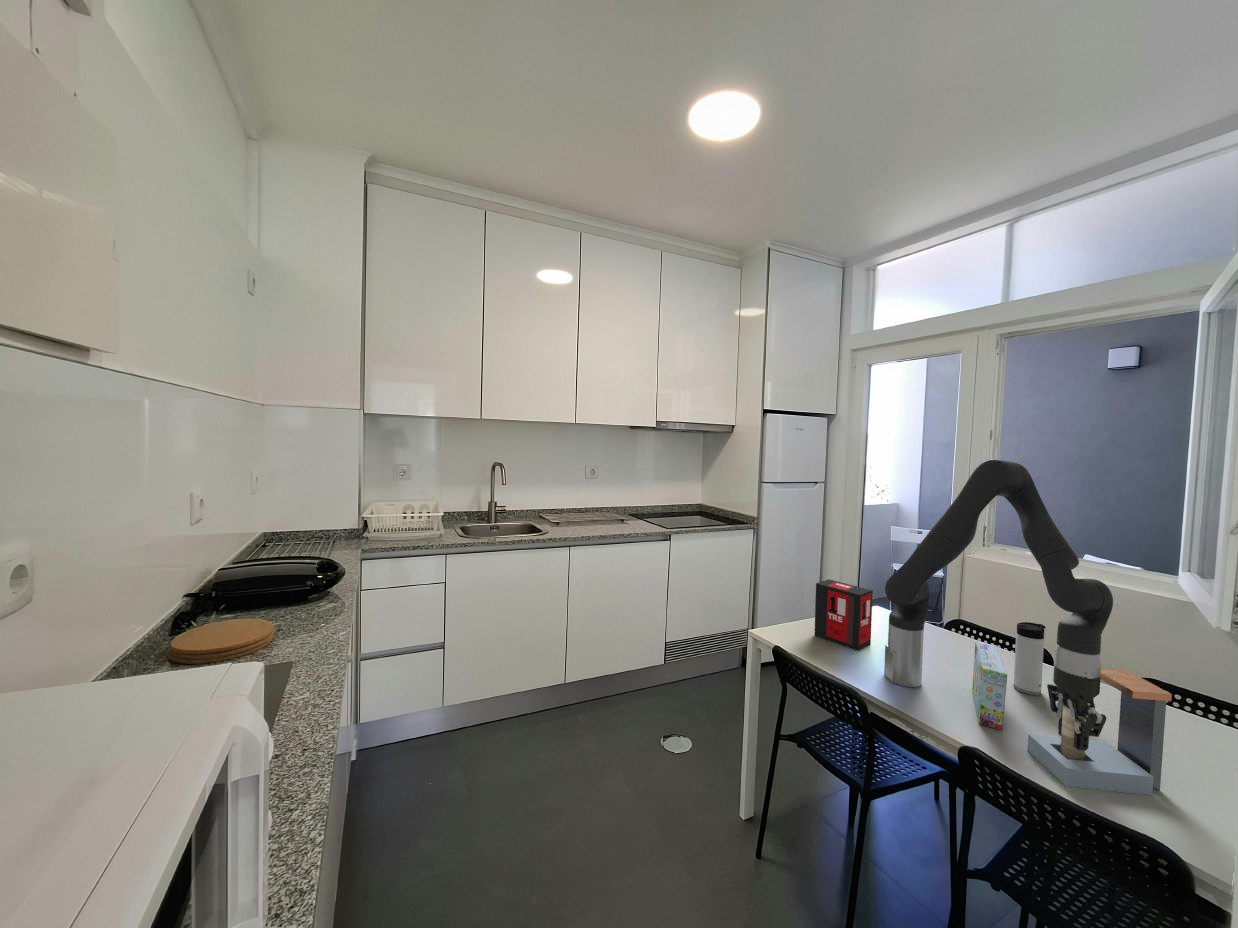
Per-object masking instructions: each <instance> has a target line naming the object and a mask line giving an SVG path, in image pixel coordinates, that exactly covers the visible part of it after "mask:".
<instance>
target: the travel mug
mask: <svg viewBox="0 0 1238 928" xmlns="http://www.w3.org/2000/svg"><path fill="white" fill-rule="evenodd" d="M1045 629H1046V626H1045V625H1044V624H1042V623H1036V622H1035V623H1034V622H1028V621H1026V622H1025V621H1024V622H1018V623H1016V631H1015V632H1016V633H1015V648H1014V649H1015V650H1014V651H1015V653H1014V669H1013V671H1014V672H1013V685H1012V687H1013V688H1014V689H1015V690H1016V691H1018V692H1020V693H1023V694H1025V695H1030V696H1039V695H1042V682H1043V667H1044V650H1045V649H1044V647H1045Z"/></svg>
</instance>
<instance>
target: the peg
mask: <svg viewBox="0 0 1238 928" xmlns="http://www.w3.org/2000/svg"><path fill="white" fill-rule="evenodd" d="M1077 717H1078V718H1083V719H1085V718H1086V716H1085V717H1084V716H1077ZM1084 724H1085V723H1081V728H1083V727H1084ZM1074 734H1075V724H1074V721H1073V720H1072V719H1071V714H1070V709H1069V708H1068V707H1066V706H1065V705H1063V713H1062V731H1061V736H1060V737H1061V749H1060V753H1061V754H1062V755H1063V756H1064V757H1065V758H1066V759H1071V760H1081V761H1085V750H1078V749H1076V748H1075V747H1074Z"/></svg>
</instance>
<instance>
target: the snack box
mask: <svg viewBox="0 0 1238 928" xmlns="http://www.w3.org/2000/svg"><path fill="white" fill-rule="evenodd" d="M974 644H975V645H974V657H973V658H974V659H973V670H972V671H973V674H972V686H971V691H972V695H973V699H974V700H973V702H974V705H975V710H976V716H977V722H978V724H979V725H982V726H985V727H989V728H993V729H996V730H999V731H1003V728H1004V718H1005V706H1006V698H1007V697H1006V696H1007V695H1006V694H1007V683H1008V673H1007V670H1006V668H1005V665H1004V662H1003V660H1002V657H1001V654H1000V651H999V649H998V645H996V644H991V643H990V644H989V643H986V642H979V641H975V643H974Z"/></svg>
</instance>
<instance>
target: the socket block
mask: <svg viewBox="0 0 1238 928" xmlns="http://www.w3.org/2000/svg"><path fill="white" fill-rule="evenodd" d="M1026 749H1027V751H1028V753H1030V754H1031V755H1032V756H1033V757H1034V758H1035V759H1036V760H1037V761H1038V762H1039V763H1040V764H1041V765H1042V766H1044V767H1045V768H1046V769H1047V770H1048V771H1049V772H1050V773H1051V774H1052V775H1053V776H1054V777H1055V778H1057V780H1059V782H1061V783H1062V785H1064V786H1065V787H1069V788H1081V789H1089V790H1101V791H1107V792H1108V791H1109V792H1117V793H1127V794H1135V795H1143V796H1144V795H1146V796H1153V794H1154V793H1153V791H1154V790H1153V780H1154V777H1153V776H1152V775H1150V774H1149V773H1148V772H1146V771H1145V770H1144V769H1142V768H1141V767H1140V766H1138V765H1137V764H1135V763H1134V762H1133V761H1131V760H1130V759H1129V758H1127V757H1126V756H1125V755H1123V754H1122V753H1121V752H1119V751H1118V750H1117V749H1116V748H1115V747H1114V746H1112V745H1111V744H1110V743H1108V742H1107V741H1105V740H1099V739H1095V740H1094V739H1089V746H1088V749H1087V750H1085V761H1081V760H1071V759H1066V758H1065V757H1064V756H1063V755H1062V754H1061V753H1060V749H1061V736H1055V735H1054V736H1053V735H1044V734H1042V735H1041V734H1032V733H1028V735H1027V748H1026Z"/></svg>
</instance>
